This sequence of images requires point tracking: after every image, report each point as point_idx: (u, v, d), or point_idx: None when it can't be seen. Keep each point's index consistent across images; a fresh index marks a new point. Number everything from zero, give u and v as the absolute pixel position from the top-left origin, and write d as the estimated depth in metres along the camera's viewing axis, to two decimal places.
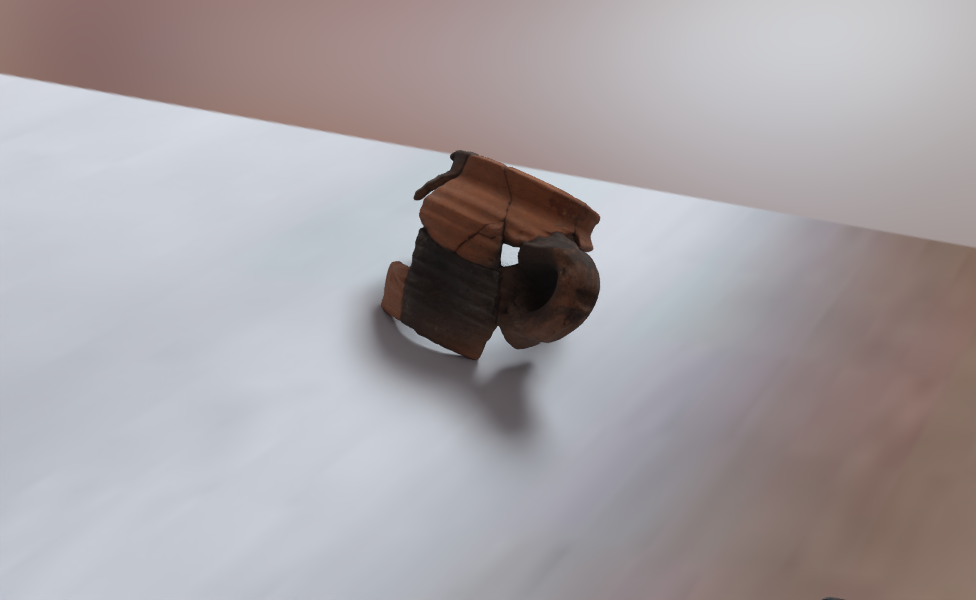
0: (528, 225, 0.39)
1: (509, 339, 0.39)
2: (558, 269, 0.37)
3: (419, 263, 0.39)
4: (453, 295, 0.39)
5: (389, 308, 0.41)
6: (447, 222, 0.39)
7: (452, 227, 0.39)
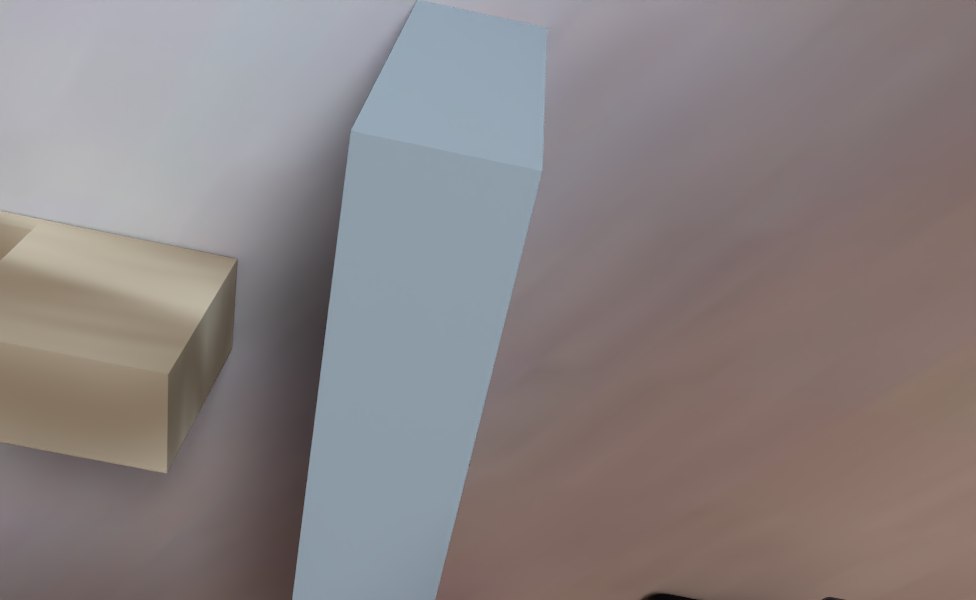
0: None
1: None
2: None
3: None
4: None
5: None
6: None
7: None
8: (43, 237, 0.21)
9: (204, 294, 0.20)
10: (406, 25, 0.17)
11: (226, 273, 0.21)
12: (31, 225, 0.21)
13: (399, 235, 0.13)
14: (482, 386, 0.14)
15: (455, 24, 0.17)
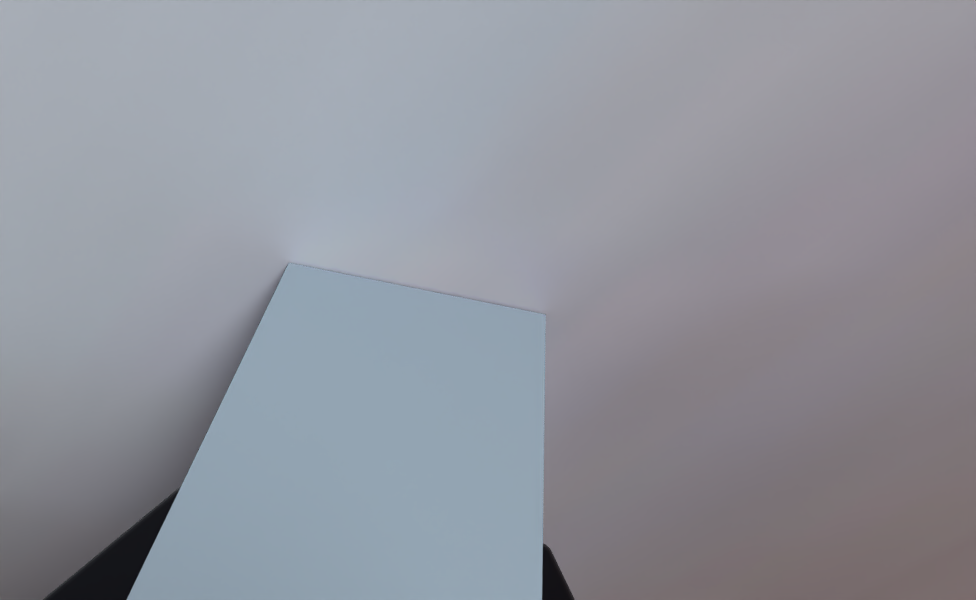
0: None
1: None
2: None
3: None
4: None
5: None
6: None
7: None
8: None
9: None
10: (235, 381, 0.07)
11: None
12: None
13: None
14: None
15: (351, 351, 0.08)
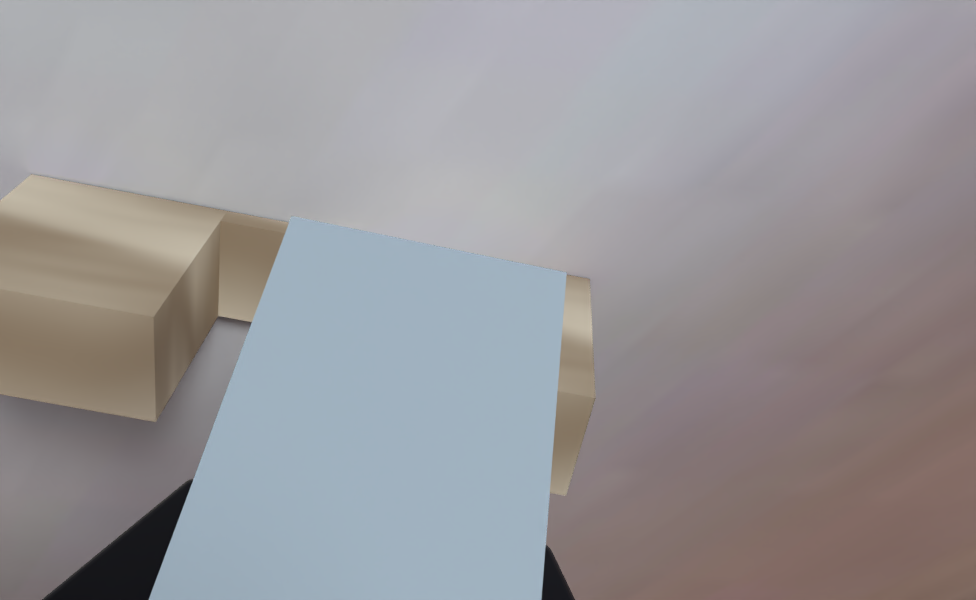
0: None
1: None
2: None
3: None
4: None
5: None
6: None
7: None
8: None
9: (581, 316, 0.20)
10: (233, 383, 0.07)
11: (588, 294, 0.21)
12: None
13: None
14: None
15: (358, 335, 0.08)
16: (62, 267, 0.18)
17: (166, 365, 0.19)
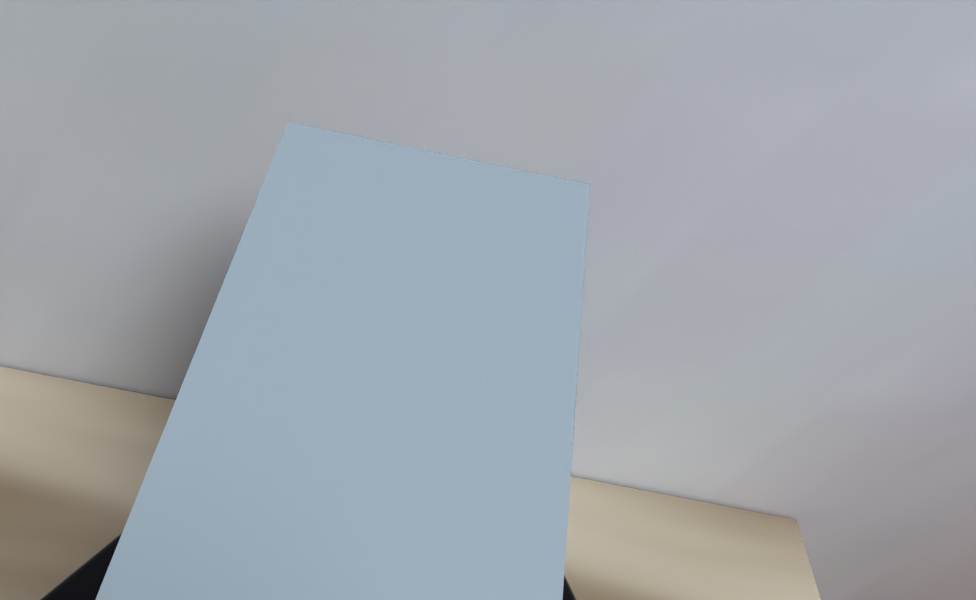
0: None
1: None
2: None
3: None
4: None
5: None
6: None
7: None
8: None
9: None
10: (222, 295, 0.06)
11: (804, 552, 0.14)
12: None
13: None
14: None
15: (359, 247, 0.07)
16: (17, 562, 0.11)
17: None
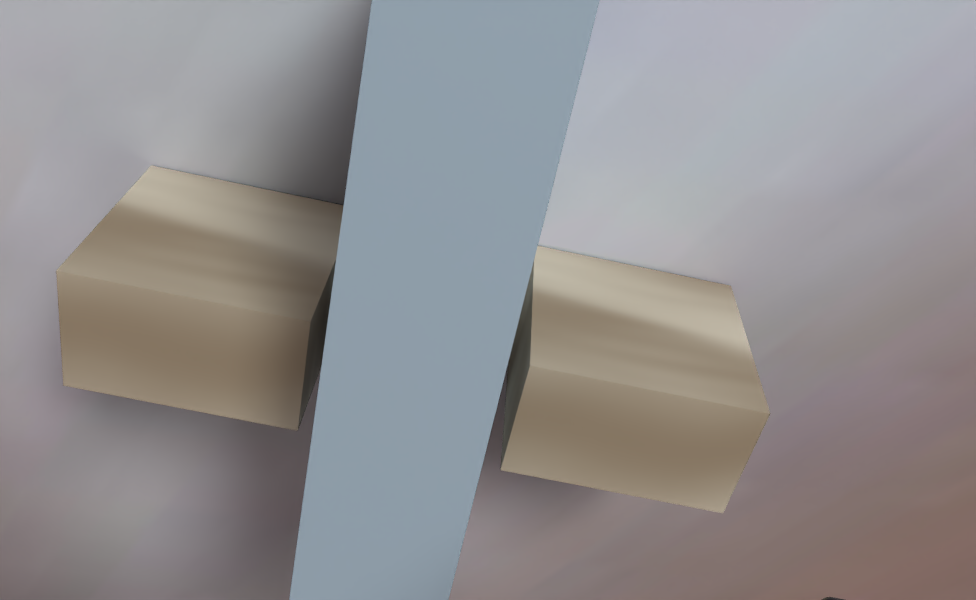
0: None
1: None
2: None
3: None
4: None
5: None
6: None
7: None
8: (549, 264, 0.20)
9: (733, 325, 0.19)
10: None
11: (734, 302, 0.20)
12: None
13: (433, 76, 0.11)
14: (523, 271, 0.12)
15: None
16: (206, 266, 0.17)
17: (309, 371, 0.18)
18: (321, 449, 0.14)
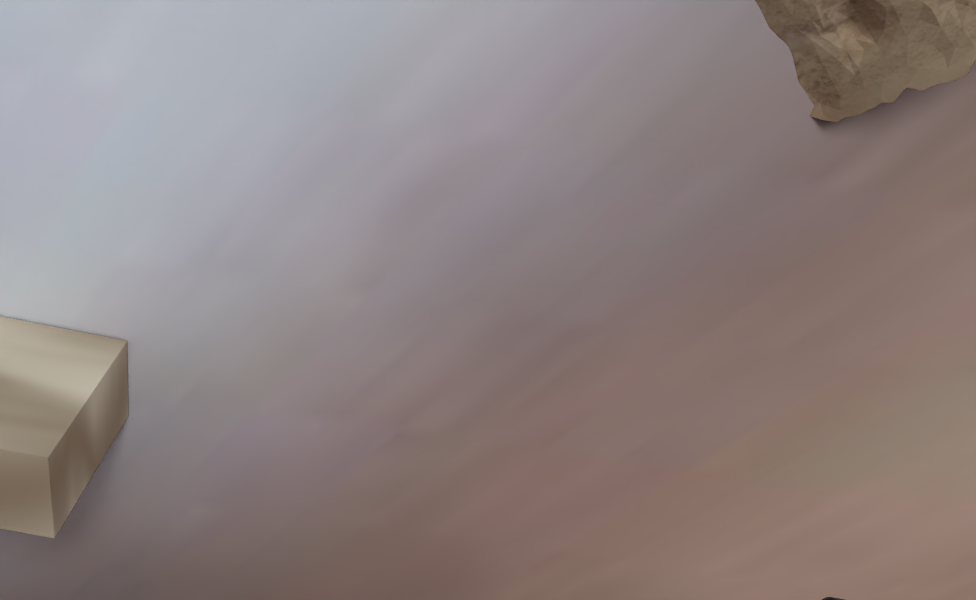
0: None
1: None
2: None
3: None
4: None
5: None
6: None
7: None
8: None
9: (91, 378, 0.23)
10: None
11: (115, 356, 0.24)
12: None
13: None
14: None
15: None
16: None
17: None
18: None
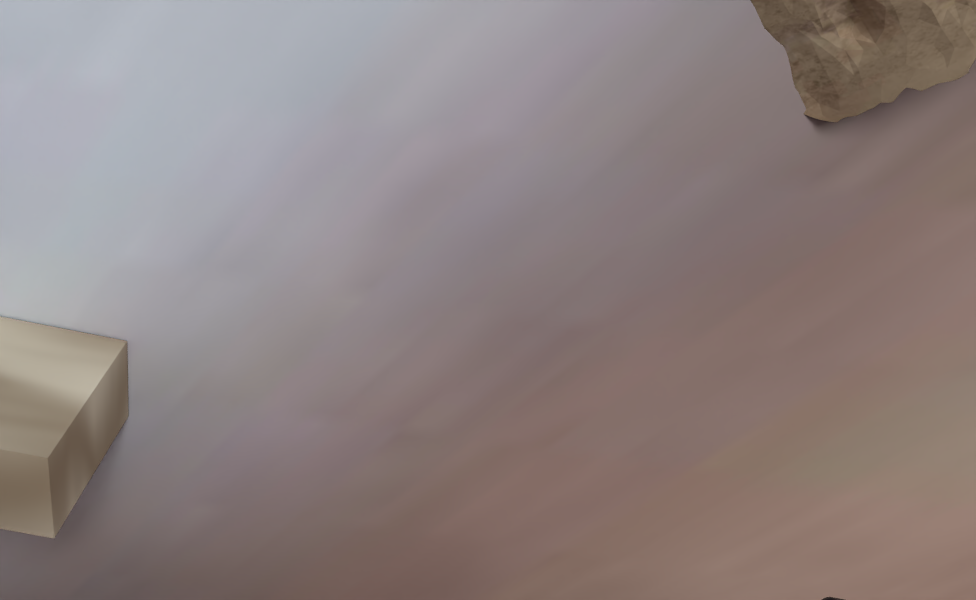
0: None
1: None
2: None
3: None
4: None
5: None
6: None
7: None
8: None
9: (91, 378, 0.23)
10: None
11: (115, 356, 0.24)
12: None
13: None
14: None
15: None
16: None
17: None
18: None
